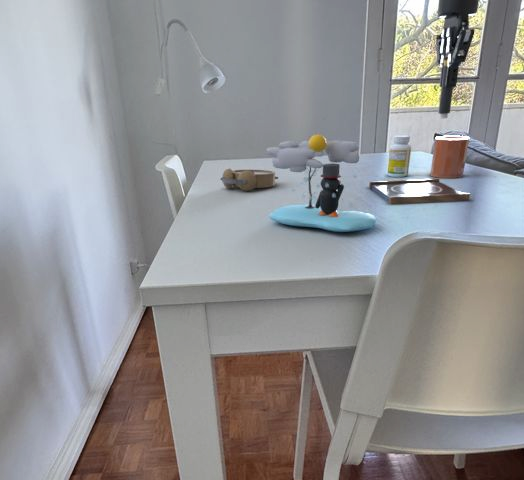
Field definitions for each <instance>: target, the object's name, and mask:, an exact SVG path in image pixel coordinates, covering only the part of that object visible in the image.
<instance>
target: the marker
mask: <svg viewBox="0 0 524 480" xmlns="http://www.w3.org/2000/svg"><path fill="white" fill-rule="evenodd" d="M447 67H448V60H445V61H444V69H443V78H442V86H441V87H440V96H439V103H438V104H439V105H438V111H437V112H438V114H439V119H448V116H449V114H450V113H451V107H452V101H453V91H454V87H445V81H446V73H447Z"/></svg>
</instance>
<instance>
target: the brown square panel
mask: <svg viewBox="0 0 524 480" xmlns="http://www.w3.org/2000/svg"><path fill="white" fill-rule="evenodd" d="M440 179H441V178H424V179H423V178H422V179H402V180H400V179H399V180H381V181H369V185H368V188H369V189H371V190H372V191H374V192H375V193H376V194H378V195H379V196H380V197H381V198H383V199H384V200H385V201H387V202H388V204H389V205H402V204H423V203H426V204H427V203H444V202H447V203H448V202H466V201H468V202H469V201H470V197H471V193H470V192H461V191H459V190H457V189H456V188H454V187H451V186H449V185H446V184H445V183H443V182H441V181H440Z"/></svg>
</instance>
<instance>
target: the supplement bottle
mask: <svg viewBox="0 0 524 480" xmlns="http://www.w3.org/2000/svg"><path fill="white" fill-rule="evenodd" d="M410 137H411V136H410V135H407V134H405V135H404V134H399V135H394V136H393V138H392V139H393V140H392V141H393V142H392V143H393V144H391V145H390V146H389V153H388V164H387V176H389V177H392V178H393V177H394V178H404V177H407V176H408V175H409V168H410V159H411V155H412V153H411V151H412V146H411V145H410V144H409V143H410V140H411V139H410Z"/></svg>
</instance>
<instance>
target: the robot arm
mask: <svg viewBox="0 0 524 480" xmlns="http://www.w3.org/2000/svg"><path fill="white" fill-rule="evenodd" d="M479 2H480V0H438V5H437V6H438V7H437V17H438V18H439V19H444V23H443V26H442V30H441V34H437V35H436V37H435V44H436V63H437V65H439V67H440V68H441V69H440V77H439V88H441V86H442V78H443V69H444V61H445V60H448V67H447V73H446V81H445V87H453V88H455V87H457V83H458V76H459V69H460V67H461V65H462V63H465V62H466V59H467V57H468V53H469V51H470V48H471V44H472V42H473V39H474V36H475V29H474V28H469V25H470V17H471V16H474V15H476V14H477V13H478V10H479V9H478V8H479Z"/></svg>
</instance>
